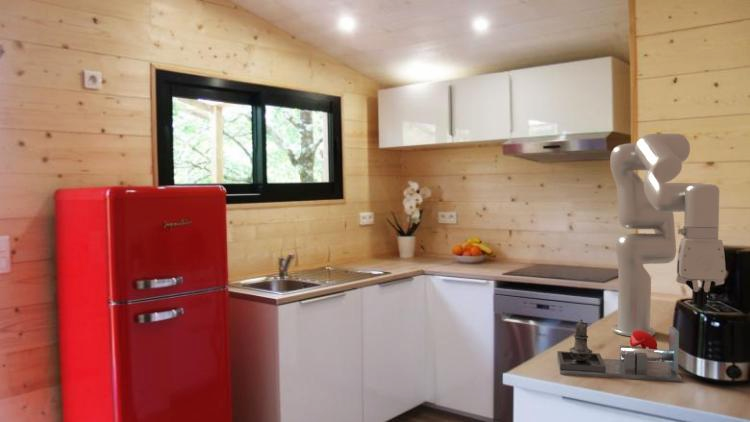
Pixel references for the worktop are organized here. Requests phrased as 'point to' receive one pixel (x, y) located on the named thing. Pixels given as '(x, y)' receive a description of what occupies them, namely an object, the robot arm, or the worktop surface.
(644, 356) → the jig
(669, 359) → the shaft
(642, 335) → the cap
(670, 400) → the worktop surface
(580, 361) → the salt shaker
